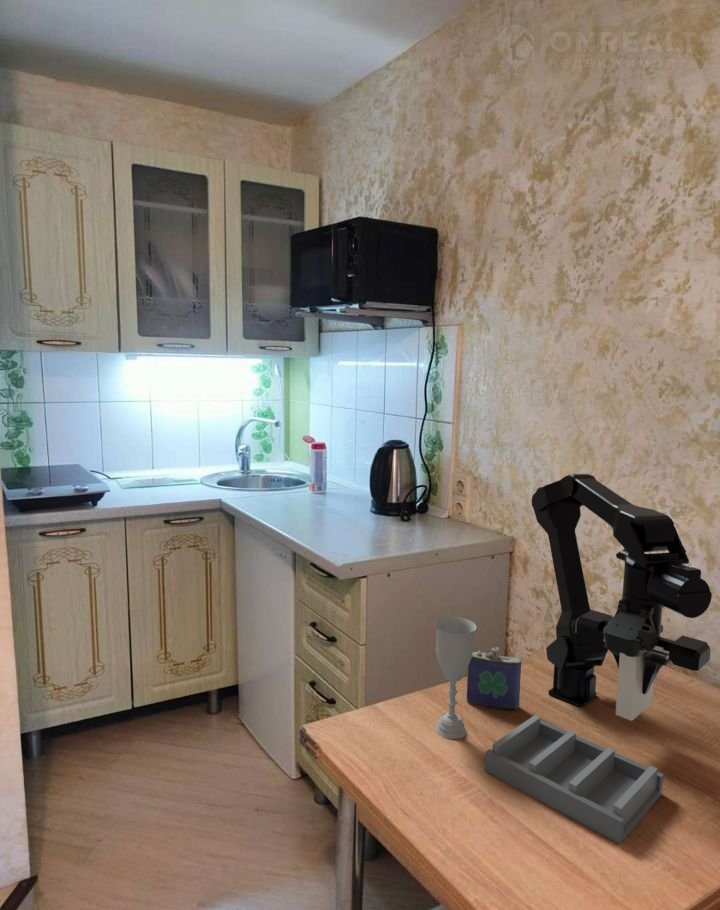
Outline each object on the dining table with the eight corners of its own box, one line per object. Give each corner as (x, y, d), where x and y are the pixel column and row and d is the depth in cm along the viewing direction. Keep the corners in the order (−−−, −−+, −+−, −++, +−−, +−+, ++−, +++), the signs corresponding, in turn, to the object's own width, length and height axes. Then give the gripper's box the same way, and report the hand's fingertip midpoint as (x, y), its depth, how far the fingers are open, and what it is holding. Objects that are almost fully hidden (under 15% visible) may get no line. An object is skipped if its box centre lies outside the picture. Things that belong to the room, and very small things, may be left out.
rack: (484, 770, 91) (485, 745, 91) (534, 734, 101) (535, 711, 101) (619, 844, 77) (621, 814, 77) (662, 794, 87) (664, 767, 87)
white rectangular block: (615, 714, 96) (619, 652, 95) (636, 697, 102) (640, 638, 101) (631, 720, 94) (636, 658, 93) (652, 702, 100) (656, 643, 99)
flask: (519, 705, 110) (522, 647, 109) (518, 713, 108) (521, 654, 106) (467, 697, 113) (469, 641, 112) (465, 705, 110) (467, 647, 109)
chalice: (426, 718, 105) (429, 616, 103) (465, 717, 106) (469, 616, 104) (435, 743, 98) (439, 634, 96) (477, 742, 99) (482, 633, 97)
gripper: (561, 590, 97) (555, 685, 99) (689, 624, 84) (680, 733, 86) (593, 576, 105) (587, 664, 107) (715, 605, 92) (706, 705, 93)
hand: (635, 690), depth 98 cm, fingers closed on white rectangular block, 2 cm apart
